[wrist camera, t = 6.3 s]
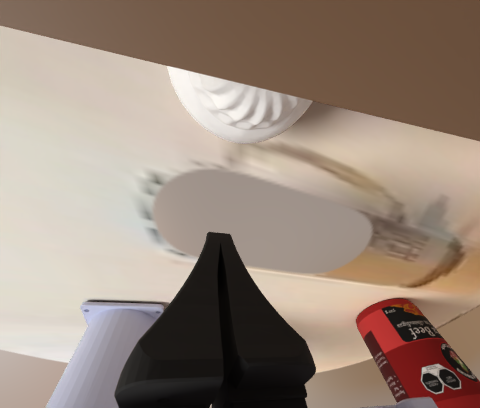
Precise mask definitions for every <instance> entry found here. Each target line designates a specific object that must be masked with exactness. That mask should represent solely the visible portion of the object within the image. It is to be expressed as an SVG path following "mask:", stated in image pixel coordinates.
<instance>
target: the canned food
mask: <svg viewBox="0 0 480 408" xmlns="http://www.w3.org/2000/svg"><path fill="white" fill-rule="evenodd" d="M356 323H357V327H358V330H359V332H360V334H361V336H362V337H363V339H364V341H365V343H366V345H367V347H368V349H369V351H370V353H371V354H372V356H373V358H374V360H375V362H376V364H377V366H378V368H379V369H380V371H381V373H382V375H383V377H384V379H385V381H386V383H387V384H388V386H389V388H390V390H391V392H392V394H393V396H394V398H395V400H396V402H397V403H398V402H400V401H402V400H405V399H409V398H419V397H430V398H432V399H433V401H434V402H435V404H436V405H437V407H438V408H480V381H479V380H478V379H477V378H476V377H475V375H474V374H473V373H472V372H471V371H470V369H469V368H468V367H467V366H466V365H465V363H464V362H463V361H462V360H461V359H460V358H459V356H458V355H457V354H456V353H455V352H454V350H453V349H452V348H451V347H450V346H449V345H448V343H447V342H446V341H445V340H444V338H443V337H442V336H441V335H440V334H439V333H438V331H437V330H436V329H435V328H434V327H433V325H432V324H431V323H430V322H429V321H428V319H427V318H426V317H425V316H424V315H423V314H422V312H421V311H420V310H419V309H418V308H417V306H415V305H414V304H413V303H411V302H410V301H408V300H406V299H399V298H397V299H389V300H384V301H381V302H378V303H376V304H373V305H371V306H369V307H368V308H366V309H365V310H363V311H362V312H361V313H360V314H359V315H358V317H357V319H356Z"/></svg>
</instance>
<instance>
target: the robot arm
mask: <svg viewBox="0 0 480 408" xmlns="http://www.w3.org/2000/svg"><path fill="white" fill-rule="evenodd" d="M80 308H81V310H82V313H83V315H84V318H85V320H86V323H87V325H88V327H87V329H86V331H85V332H84V334H83V336H82V338H81V340H80V342H79V344H78V346H77V348H76V350H75V352H74V354H73V356H72V358H71V359H70V361H69V363H68V365H67V368H66V369H65V371H64V373H63V375H62V377H61V379H60V381H59V383H58V385H57V387H56V388H55V390H54V392H53V394H52V396H51V398H50V400H49V402H48V404H47V406H46V408H209V407H210V405H211V404H212V408H307V405H306V401H305V398H306V397H307V393H306V389H305V385H304V384H305V383H306V382H307V381H308V380H309V379H311V378H312V376H313V375H314V374H315V372H316V367H315V364H314V361H313V358H312V355H311V353H310V350H309V348H308V346H307V343H306V341H305V340H304V339H303V338H302V337H301V336H300V335H299V334H298V333H297V332H296V331H295V330H294V329H293V328H292V327H291V326H290V325H289V324H288V323H287V322H286V321H285V320H284V319H283V318H282V317H281V316H280V315H279V314H278V312H277V311H276V310H275V309H274V308H273V306H272V305H271V304H270V303H269V302H268V300H267V299H266V298H265V297H264V295H263V294H262V293H261V291H260V290H259V288H258V287H257V285H256V284H255V283H254V281H253V279H252V278H251V276H250V275H249V273H248V271H247V269H246V268H245V266H244V264H243V262H242V260H241V258H240V256H239V254H238V252H237V250H236V247H235V245H234V243H233V240H232V237H231V235H230V234H225V233H213V232H209V233H207V237H206V242H205V245H204V248H203V250H202V252H201V254H200V257H199V259H198V261H197V263H196V265H195V266H194V268H193V270H192V272H191V274H190V275H189V277H188V279H187V280H186V282H185V283H184V285H183V286H182V288H181V289H180V291H179V292H178V293H177V295H176V296H175V298H174V299H173V300H172V302H171V303H170V304H169V306H168V307H167V308H166V309H165V310H164V306H163V305H161V304H143V303H111V302H83V303H82V304H81V306H80ZM362 408H438V407H437V405H436V404H435V402H434V401H433V399H432V398H430V397H419V398H409V399H405V400H402V401H400V402H398V403H396V405H387V406H374V407H362Z"/></svg>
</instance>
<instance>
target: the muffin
mask: <svg viewBox="0 0 480 408" xmlns="http://www.w3.org/2000/svg"><path fill="white" fill-rule="evenodd" d="M167 69H168V72H169V76H170V79H171V82H172V85H173V87H174V90H175V92H176V94H177V96H178V98H179V99H180V101H181V103H182V104H183V106H184V107H185V109H186V110H187V111H188V113H189V114H190V115H191V116H192V117H193V118H194V120H196V121H197V122H198V123H199V124H200V125H201V126H202V127H203V128H205V129H206V130H207V131H209V132H210V133H212V134H214V135H215V136H217V137H219V138H221V139H224V140H227V141H230V142H234V143H242V144H248V143H256V142H261V141H265V140H267V139H270V138H272V137H275V136H277V135H279V134H280V133H282V132H284V131H285V130H287V129H288V128H289V127H291V126H292V125H293V124H294V123H295V122H296V121H297V120H298V119H299V118H300V117H301V116H302V115H303V114H304V113H305V111H306V110H307V109H308V108H309V106H310V105H311V103H312V102H313V101H311V100H307V99H303V98H299V97H295V96H291V95H286V94H282V93H278V92H274V91H270V90H266V89H262V88H257V87H253V86H249V85H245V84H241V83H237V82H233V81H228V80H224V79H220V78H216V77H212V76H208V75H204V74H199V73H195V72H191V71H187V70H183V69H179V68H174V67H170V66H167Z"/></svg>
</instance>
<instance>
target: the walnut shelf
mask: <svg viewBox="0 0 480 408" xmlns="http://www.w3.org/2000/svg"><path fill="white" fill-rule="evenodd" d="M0 26H5V27H9V28H13V29H17V30H21V31H25V32H29V33H34V34H38V35H42V36H46V37H50V38H54V39H58V40H63V41H67V42H71V43H75V44H79V45H83V46H87V47H92V48H96V49H100V50H104V51H108V52H112V53H116V54H121V55H125V56H129V57H133V58H137V59H141V60H145V61H150V62H154V63H158V64H162V65H166V66H170V67H174V68H179V69H183V70H187V71H191V72H195V73H199V74H204V75H208V76H212V77H216V78H220V79H224V80H228V81H233V82H237V83H241V84H245V85H249V86H253V87H257V88H262V89H266V90H270V91H274V92H278V93H282V94H286V95H291V96H295V97H299V98H303V99H307V100H311V101H315V102H320V103H324V104H328V105H332V106H336V107H340V108H344V109H349V110H353V111H357V112H361V113H365V114H369V115H373V116H378V117H382V118H386V119H390V120H394V121H398V122H402V123H407V124H411V125H415V126H419V127H423V128H427V129H431V130H436V131H440V132H444V133H448V134H452V135H456V136H460V137H465V138H469V139H473V140H477V141H480V0H0Z"/></svg>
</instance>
